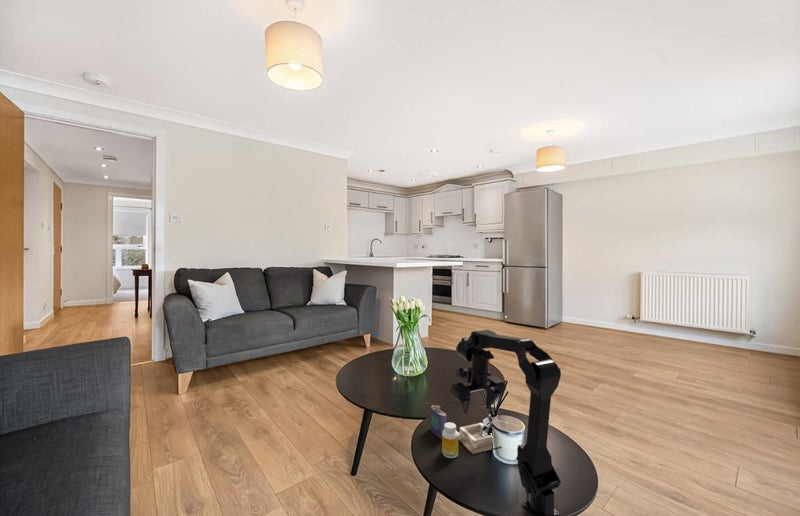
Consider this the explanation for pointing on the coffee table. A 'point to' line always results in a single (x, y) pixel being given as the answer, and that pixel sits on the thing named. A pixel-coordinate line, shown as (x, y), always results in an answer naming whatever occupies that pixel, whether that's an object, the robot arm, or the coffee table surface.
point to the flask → (437, 421)
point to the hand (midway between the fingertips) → (476, 411)
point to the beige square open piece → (475, 438)
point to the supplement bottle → (450, 440)
